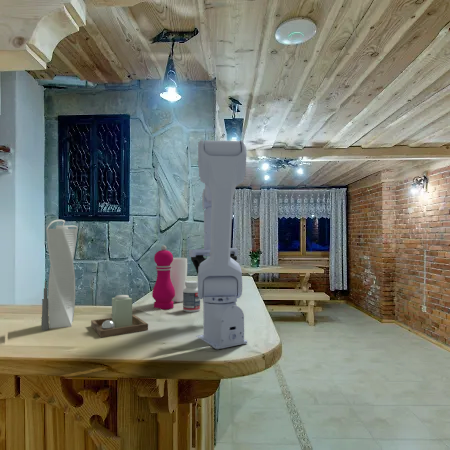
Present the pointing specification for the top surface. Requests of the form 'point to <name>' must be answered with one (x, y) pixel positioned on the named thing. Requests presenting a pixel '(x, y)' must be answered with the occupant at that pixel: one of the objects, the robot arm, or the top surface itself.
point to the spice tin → (122, 311)
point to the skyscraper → (60, 278)
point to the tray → (136, 327)
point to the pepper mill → (163, 280)
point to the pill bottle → (191, 297)
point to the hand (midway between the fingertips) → (214, 282)
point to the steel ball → (108, 325)
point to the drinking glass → (178, 277)
